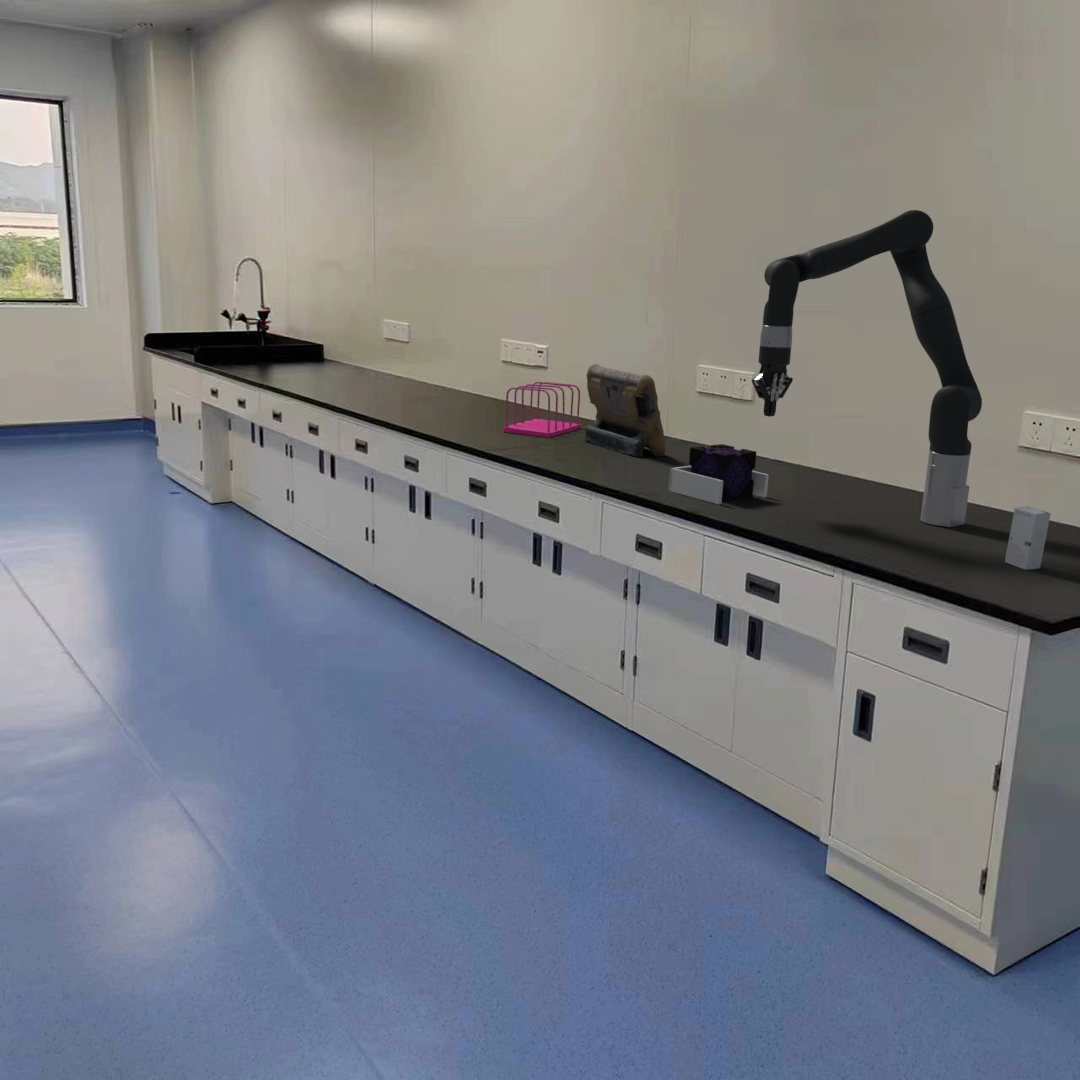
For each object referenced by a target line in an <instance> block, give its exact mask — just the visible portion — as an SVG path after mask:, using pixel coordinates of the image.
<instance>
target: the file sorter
mask: <svg viewBox="0 0 1080 1080" xmlns="http://www.w3.org/2000/svg"><path fill="white" fill-rule="evenodd" d="M563 387H567V388H569V390H570V391H571V398H570V399H571V400H570V413H569V414H570V416H569V422H566V421H565V403H566V402H565V401H566V400H565V391H564V388H563ZM573 387H574V388H576V390H577V392H578V393H577V394H578V396H577V397H578V398H577V413H576V422H572V421H573V408H574V407H573V406H574V390H573ZM555 388H556V389H559V390H561V393H562V421H559V420H558V414H559V413H558V407H559V405H558V403H559V394H558V392H557V390H555ZM512 390H515V391H514V404H513V408H514V409H513V413H514V414H513V424H510V425H509V394H510V391H512ZM519 390H520V391H521V422H518V423H517V393H518V391H519ZM547 390H548V391H553V392H554V394H555V417H554V419H555V420H551V418H550V417H551V396H550V393H549V392H548V391H547ZM525 391H530V401H529V402H530V403H529V404H530V407H529V420H526V421H525V420H524V419H525V418H524V416H525V415H524V413H525V412H524V410H525V409H524V402H525V401H524V399H525V398H524V397H525V396H524V395H525ZM534 392H537V404H536V418H534V419H532V415H533V414H532V413H533V396H534ZM540 392H544V393H545V394H546V395H547V419H543V418H539V417H540V395H541V394H540ZM505 403H506V405H505V426H503V429H502V431H503V432H504V433H508V434H517V435H526V436H533V437H541V438H549V439H550V438H554V437H556V436H560V435H563V434H567V433H570V432H574V431H578V430H579V429H580V430H581V428H582V425H581V423H579V420H580V419H579V418H580V406H581V390H580V387H578V386H577V385H575V384H571V383H570V384H569V383H561V382H553V381H552V382H550V381H537V382H534V383H533V384H531V383H530V384H526V385H520V386H517V387H510V388H509V389H508V390H507V391H506V398H505Z"/></svg>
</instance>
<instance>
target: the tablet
mask: <svg viewBox="0 0 1080 1080" xmlns="http://www.w3.org/2000/svg"><path fill="white" fill-rule="evenodd" d="M586 381H587V383H586V387H587V393H588V398H589V402H590V404H592V405H593V406H594V407H595V409H596V414H595V420H594V422H593V423H592V424H587V425H586V426H585V428H584V429H585V437H584V438H585V440H584V441H585V442H589V443H591V444H594V445H596V446H598V447H603V448H605V449H609V450H612V451H615V452H617V453H623V454H625V455H630V456H632V457H638V458H643V457H644V449H645V448H647V449H648V450H649V451H650V452H651V453H652V454H653V455H654V456H655V457H659V458H660V457H664V456H666V450H667V449H666V447H667V445H666V443H667V442H666V439H665V434H664V427H663V423H662V419H661V411H660V409H659V405H658V401H659V399H658V394H657V389H656V384H655V383H656V382H655V380H654V378H652V376H651V375H648V374H643V375H640V374H636V373H631V372H630V371H624V370H618V369H613V368H608V367H605V366H601V365H600V364H597V363H593V364H591V365H589V367H588V368H587V371H586Z"/></svg>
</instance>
